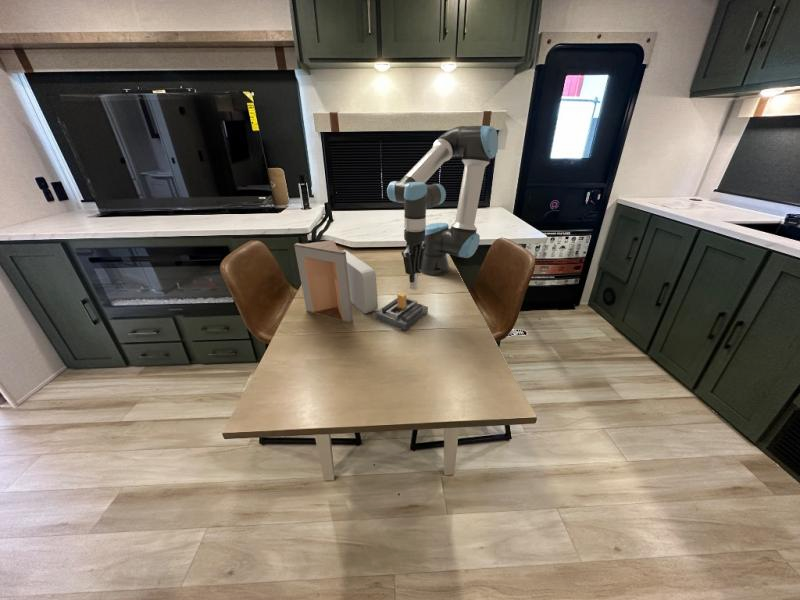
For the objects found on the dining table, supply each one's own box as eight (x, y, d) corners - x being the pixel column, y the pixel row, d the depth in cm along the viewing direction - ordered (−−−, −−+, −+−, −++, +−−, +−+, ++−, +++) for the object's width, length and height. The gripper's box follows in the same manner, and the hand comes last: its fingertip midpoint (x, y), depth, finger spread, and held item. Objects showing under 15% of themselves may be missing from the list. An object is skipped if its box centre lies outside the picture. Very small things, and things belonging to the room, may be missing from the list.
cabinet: (306, 311, 125) (294, 244, 111) (321, 300, 132) (311, 236, 119) (350, 323, 117) (343, 253, 103) (363, 311, 124) (358, 244, 111)
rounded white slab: (383, 310, 125) (381, 269, 116) (366, 316, 121) (363, 274, 112) (351, 284, 146) (348, 247, 137) (336, 288, 142) (331, 250, 133)
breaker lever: (401, 306, 121) (401, 292, 118) (407, 308, 120) (407, 294, 116) (396, 309, 119) (396, 295, 116) (402, 312, 118) (402, 297, 114)
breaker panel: (399, 303, 130) (398, 293, 127) (427, 313, 122) (428, 303, 120) (375, 319, 119) (375, 309, 117) (405, 331, 112) (405, 320, 110)
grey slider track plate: (399, 299, 126) (399, 296, 125) (424, 308, 120) (424, 305, 119) (382, 311, 118) (382, 308, 118) (407, 321, 112) (407, 318, 111)
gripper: (416, 223, 117) (414, 280, 128) (395, 231, 108) (395, 292, 119) (433, 226, 113) (430, 285, 124) (413, 235, 104) (411, 297, 115)
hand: (413, 288), depth 122 cm, fingers closed
